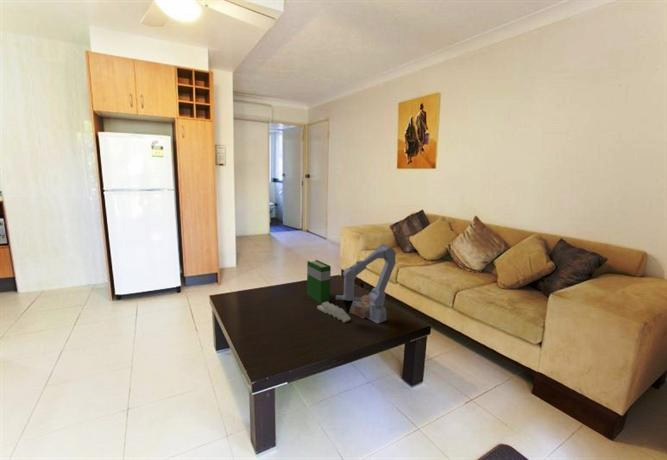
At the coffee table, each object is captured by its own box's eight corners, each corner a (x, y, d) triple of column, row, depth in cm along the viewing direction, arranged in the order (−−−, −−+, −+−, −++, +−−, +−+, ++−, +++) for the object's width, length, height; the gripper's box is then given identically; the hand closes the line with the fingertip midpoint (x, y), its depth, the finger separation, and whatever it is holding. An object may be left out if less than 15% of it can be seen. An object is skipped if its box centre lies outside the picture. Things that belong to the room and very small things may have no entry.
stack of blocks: (367, 293, 209) (383, 298, 201) (367, 302, 210) (383, 307, 202) (347, 302, 193) (363, 308, 185) (347, 312, 194) (363, 318, 186)
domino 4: (345, 315, 186) (336, 305, 191) (339, 318, 183) (330, 307, 188) (345, 317, 187) (336, 307, 192) (339, 320, 184) (330, 309, 189)
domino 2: (336, 311, 192) (327, 301, 197) (330, 313, 189) (321, 303, 194) (335, 312, 193) (327, 303, 198) (329, 315, 190) (321, 305, 195)
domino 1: (332, 309, 195) (323, 304, 201) (326, 311, 192) (317, 306, 198) (332, 311, 195) (323, 306, 202) (326, 313, 192) (317, 308, 199)
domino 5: (350, 318, 183) (341, 307, 188) (344, 320, 180) (335, 309, 185) (349, 320, 184) (340, 309, 189) (343, 322, 181) (334, 311, 186)
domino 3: (341, 313, 189) (332, 303, 194) (335, 315, 186) (326, 305, 191) (340, 315, 190) (331, 305, 195) (334, 317, 187) (325, 307, 192)
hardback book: (307, 294, 221) (307, 261, 217) (316, 292, 226) (316, 259, 221) (320, 303, 207) (321, 267, 203) (329, 300, 211) (330, 266, 207)
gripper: (362, 288, 180) (361, 310, 183) (337, 286, 184) (337, 308, 186) (360, 293, 174) (359, 316, 176) (335, 290, 177) (334, 313, 179)
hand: (348, 312), depth 181 cm, fingers closed
